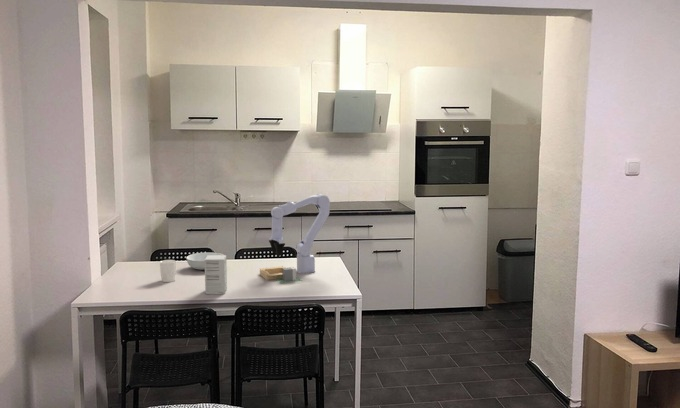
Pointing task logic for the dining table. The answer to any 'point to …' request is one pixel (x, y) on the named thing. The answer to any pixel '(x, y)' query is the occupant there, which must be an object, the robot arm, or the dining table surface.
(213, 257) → the supplement box
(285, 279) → the grey box
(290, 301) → the dining table surface
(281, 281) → the flat green panel
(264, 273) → the tan wooden shallow tray
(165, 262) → the white cup
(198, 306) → the dining table surface
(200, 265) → the serving bowl
